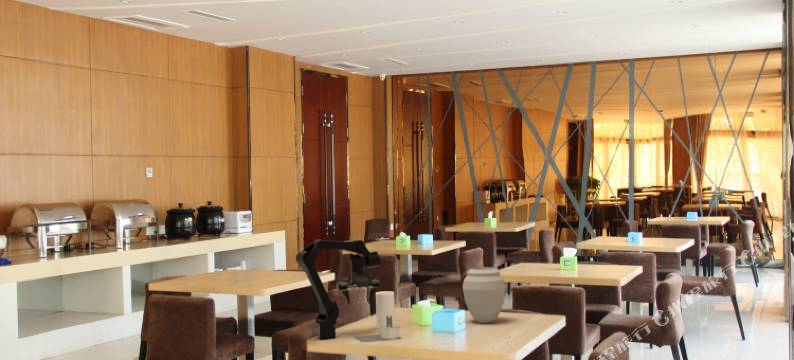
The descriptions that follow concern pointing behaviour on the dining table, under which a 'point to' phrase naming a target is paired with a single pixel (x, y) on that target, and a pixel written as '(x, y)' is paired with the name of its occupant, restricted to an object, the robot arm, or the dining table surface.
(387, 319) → the lid
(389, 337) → the bowl
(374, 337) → the placemat
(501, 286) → the vase
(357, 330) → the dining table surface
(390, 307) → the cup
